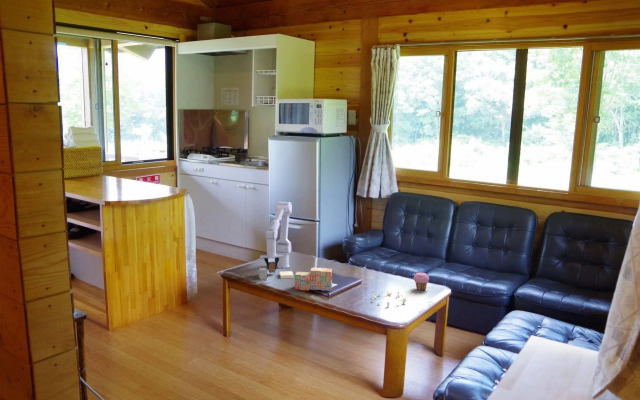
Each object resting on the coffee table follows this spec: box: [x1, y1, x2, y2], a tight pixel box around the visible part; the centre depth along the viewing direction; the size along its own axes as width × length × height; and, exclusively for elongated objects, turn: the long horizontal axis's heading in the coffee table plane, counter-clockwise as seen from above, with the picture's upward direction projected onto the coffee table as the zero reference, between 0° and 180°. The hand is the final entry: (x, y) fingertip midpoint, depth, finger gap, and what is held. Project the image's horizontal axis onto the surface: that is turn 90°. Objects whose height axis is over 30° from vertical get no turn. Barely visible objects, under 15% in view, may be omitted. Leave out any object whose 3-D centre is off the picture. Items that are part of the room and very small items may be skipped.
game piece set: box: [371, 290, 407, 308], centre depth 291 cm, size 19×20×4 cm
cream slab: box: [279, 270, 295, 280], centre depth 334 cm, size 8×8×2 cm
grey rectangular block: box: [258, 267, 268, 280], centre depth 331 cm, size 4×4×6 cm
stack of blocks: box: [294, 267, 333, 291], centre depth 310 cm, size 21×6×12 cm, turn 82°
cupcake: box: [413, 272, 430, 291], centre depth 310 cm, size 9×9×10 cm
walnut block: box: [268, 261, 276, 274], centre depth 337 cm, size 4×4×6 cm
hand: (271, 269), depth 337 cm, fingers closed on walnut block, 4 cm apart
